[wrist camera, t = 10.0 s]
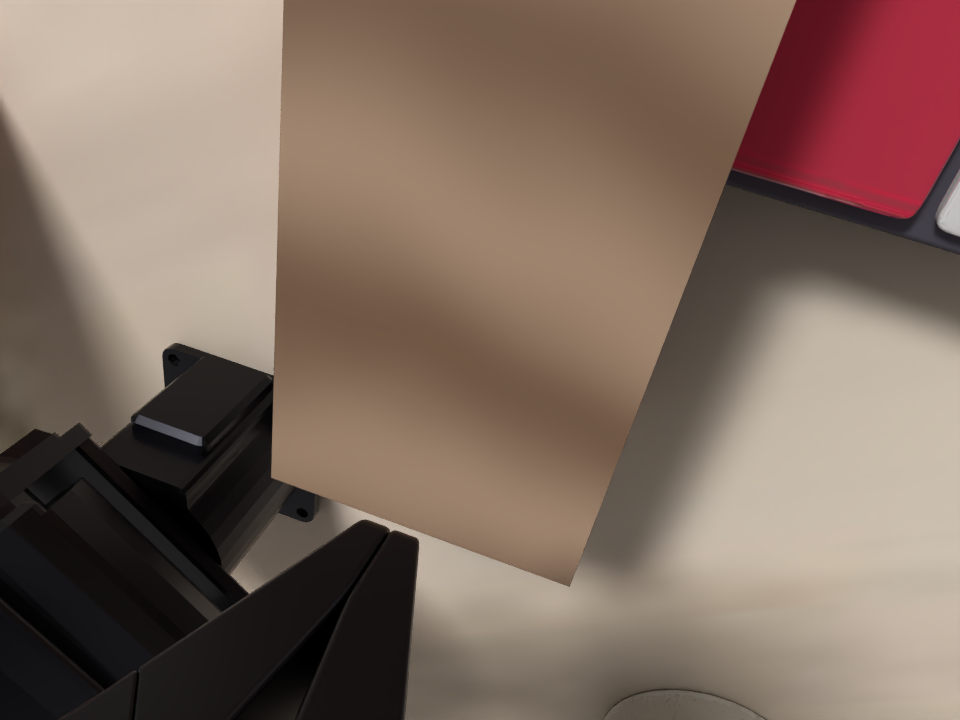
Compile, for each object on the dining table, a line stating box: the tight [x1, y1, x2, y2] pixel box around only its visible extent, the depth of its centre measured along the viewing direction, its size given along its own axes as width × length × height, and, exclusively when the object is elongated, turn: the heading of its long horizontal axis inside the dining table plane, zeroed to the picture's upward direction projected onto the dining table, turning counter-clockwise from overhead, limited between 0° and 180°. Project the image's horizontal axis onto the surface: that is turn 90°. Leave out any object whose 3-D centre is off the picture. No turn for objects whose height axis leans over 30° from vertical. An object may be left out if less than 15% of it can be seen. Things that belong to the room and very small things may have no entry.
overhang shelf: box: [271, 0, 796, 587], centre depth 15 cm, size 22×8×7 cm, turn 169°
